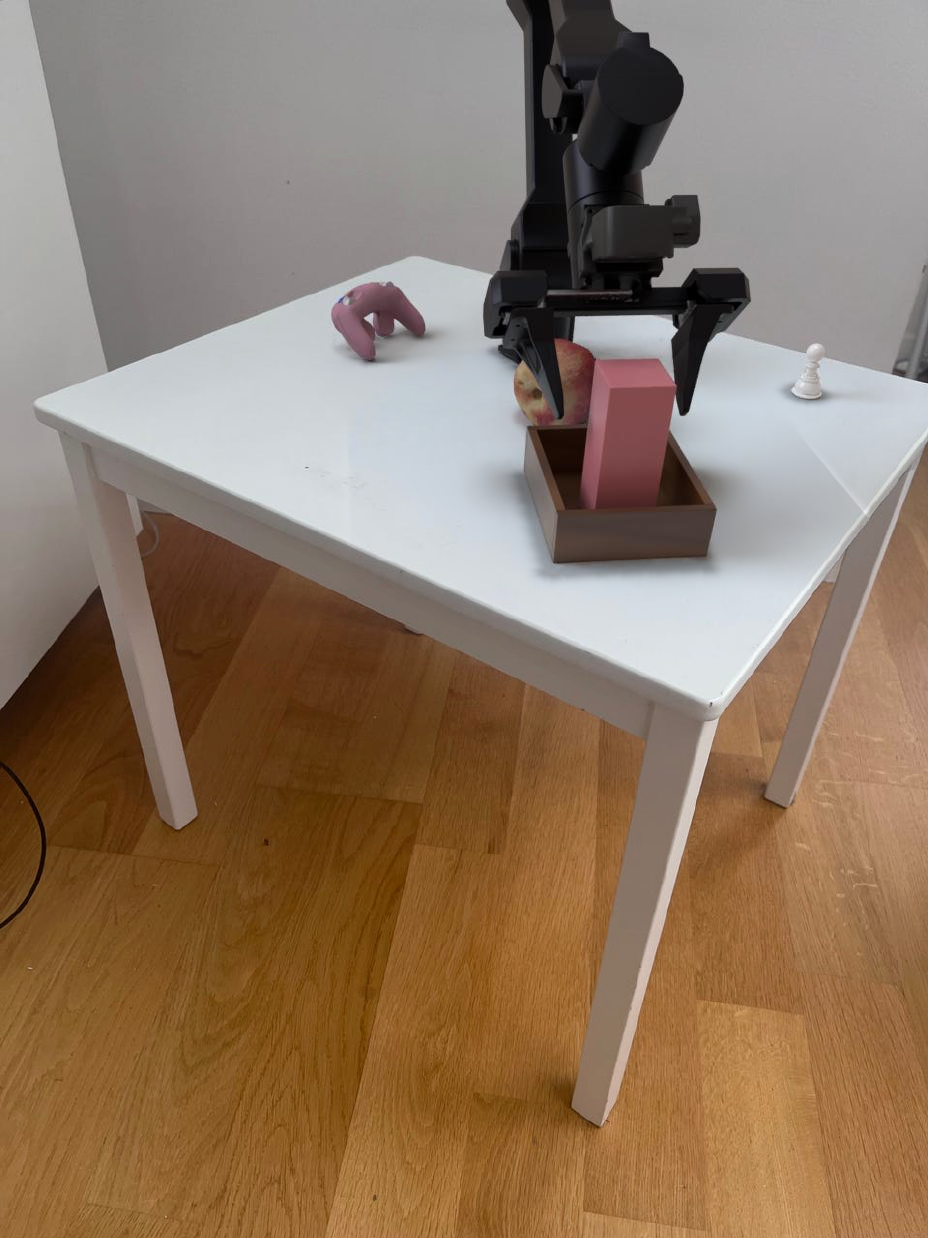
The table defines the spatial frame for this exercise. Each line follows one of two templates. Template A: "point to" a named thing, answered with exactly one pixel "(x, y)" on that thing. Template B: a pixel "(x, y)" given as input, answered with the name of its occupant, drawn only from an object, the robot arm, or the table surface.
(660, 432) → the rose block
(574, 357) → the fruit
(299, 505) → the table surface
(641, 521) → the crate
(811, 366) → the chess pawn
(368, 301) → the video game controller
